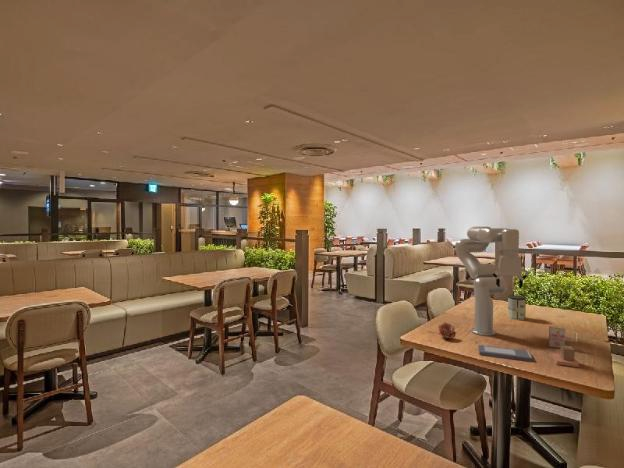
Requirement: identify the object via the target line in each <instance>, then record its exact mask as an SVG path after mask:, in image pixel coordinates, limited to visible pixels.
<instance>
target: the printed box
mask: <svg viewBox="0 0 624 468" xmlns="http://www.w3.org/2000/svg"><path fill="white" fill-rule="evenodd" d="M548 328H549V329H548V347H550V348H555V349H561V345H562V346H566V340H565V339H566V332H565V331H566V328H564V327H558V326H548Z"/></svg>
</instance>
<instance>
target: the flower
mask: <svg viewBox="0 0 624 468" xmlns="http://www.w3.org/2000/svg"><path fill="white" fill-rule="evenodd" d="M455 329H456V328H455V325H452V324H451V323H449V322H446V321H445V322H442V323H441V324H438V331H439V332H438V334H439V335H440V336H441V337H442V340H443V339H449V340H453V338H455V337H456V335H457V333H456V331H455Z"/></svg>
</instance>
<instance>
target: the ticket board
mask: <svg viewBox="0 0 624 468" xmlns="http://www.w3.org/2000/svg"><path fill="white" fill-rule="evenodd" d="M477 347H478V354H479V355H480V356H488V357H492V358H493V357H494V358H501V359H502V358H503V359H510V360H517V361H525V362H531V363H532V362H534V358H533V356H532V354H531V353H530V350H524V349H523V350H522V349H515V348H507V347H500V346H499V347H498V346H491V345H483V344H482V345H481V344H478V346H477Z"/></svg>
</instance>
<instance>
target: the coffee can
mask: <svg viewBox="0 0 624 468" xmlns="http://www.w3.org/2000/svg"><path fill="white" fill-rule="evenodd" d="M526 299H527V297H526V296H523V295H517V294H516V295H514V294H511V295H507V318H508V319H511V320H517V321H525V320H526V305H527V303H526V301H527V300H526Z"/></svg>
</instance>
